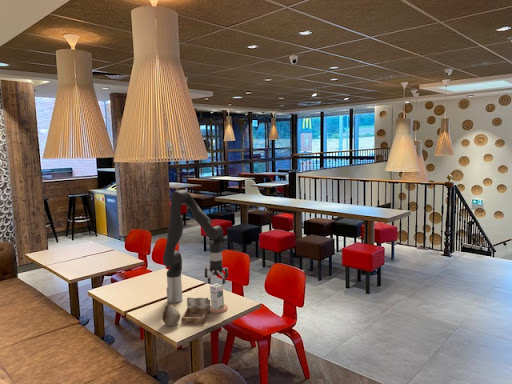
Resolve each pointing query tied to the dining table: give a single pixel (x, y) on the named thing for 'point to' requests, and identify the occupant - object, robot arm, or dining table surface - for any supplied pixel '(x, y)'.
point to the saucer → (219, 309)
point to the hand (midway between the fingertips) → (216, 284)
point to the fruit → (170, 315)
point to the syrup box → (216, 296)
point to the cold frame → (196, 310)
